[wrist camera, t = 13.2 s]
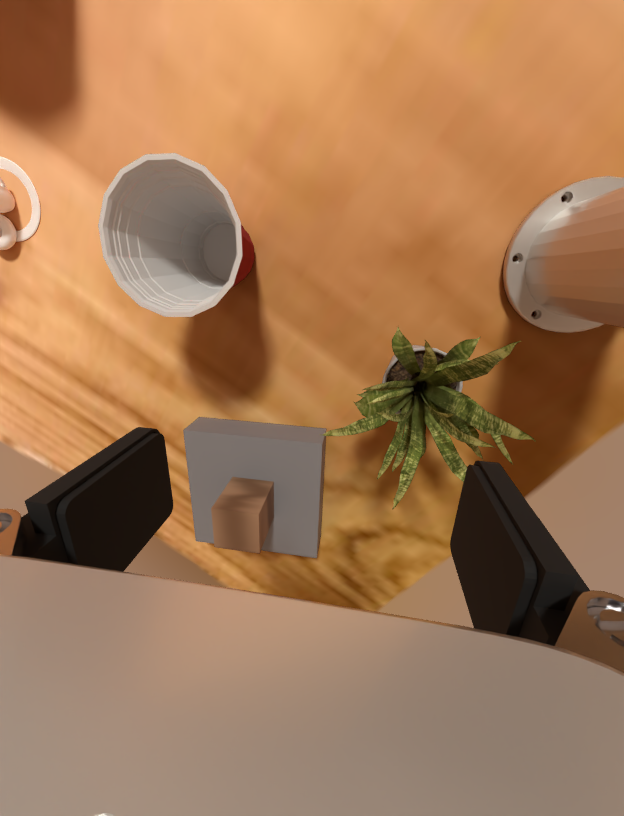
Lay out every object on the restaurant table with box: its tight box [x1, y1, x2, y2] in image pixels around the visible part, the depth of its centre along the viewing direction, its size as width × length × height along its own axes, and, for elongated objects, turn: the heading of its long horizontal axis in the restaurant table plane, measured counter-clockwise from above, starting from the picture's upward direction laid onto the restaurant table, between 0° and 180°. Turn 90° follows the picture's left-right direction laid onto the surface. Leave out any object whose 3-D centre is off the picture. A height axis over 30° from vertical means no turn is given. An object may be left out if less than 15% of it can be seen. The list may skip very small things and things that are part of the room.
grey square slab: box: [183, 417, 326, 558], centre depth 43 cm, size 16×16×4 cm
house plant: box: [322, 327, 535, 509], centre depth 30 cm, size 14×14×16 cm
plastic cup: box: [98, 153, 254, 317], centre depth 30 cm, size 11×11×12 cm
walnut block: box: [211, 477, 274, 554], centre depth 38 cm, size 5×5×6 cm
